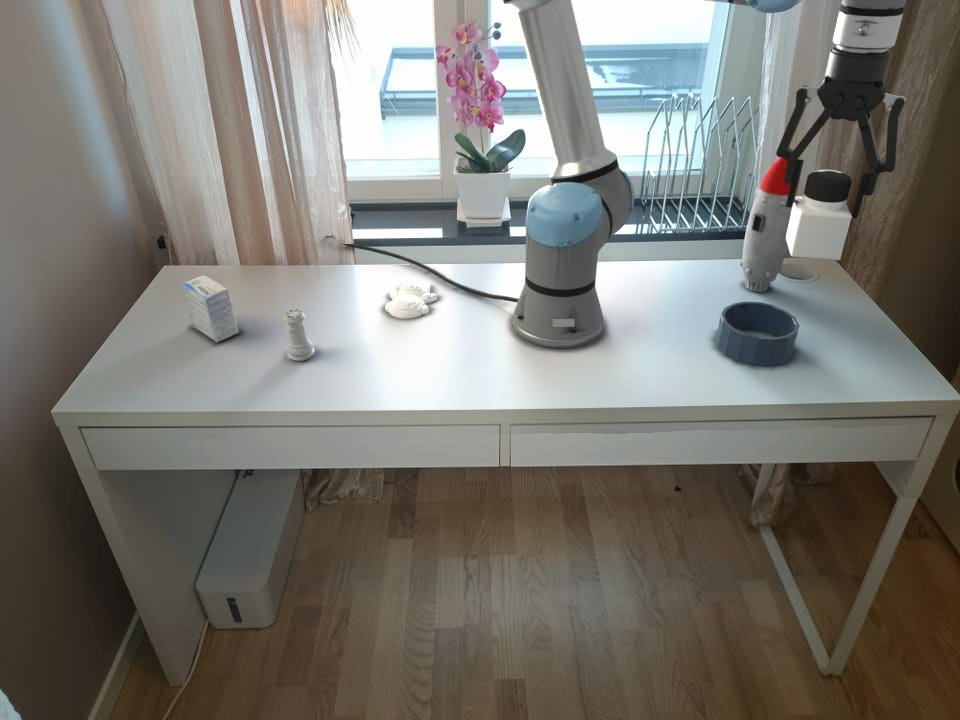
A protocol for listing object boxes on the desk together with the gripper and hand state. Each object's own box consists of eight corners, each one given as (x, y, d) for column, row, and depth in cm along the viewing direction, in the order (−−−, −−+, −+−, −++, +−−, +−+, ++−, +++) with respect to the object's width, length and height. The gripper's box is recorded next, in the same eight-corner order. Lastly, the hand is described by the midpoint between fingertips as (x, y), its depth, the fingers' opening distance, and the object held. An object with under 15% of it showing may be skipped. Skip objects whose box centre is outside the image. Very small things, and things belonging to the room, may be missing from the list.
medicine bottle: (841, 261, 110) (862, 183, 104) (790, 257, 112) (808, 180, 105) (833, 241, 116) (852, 167, 110) (785, 238, 118) (801, 164, 111)
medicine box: (239, 333, 126) (229, 288, 121) (216, 344, 123) (205, 298, 119) (215, 317, 131) (204, 273, 126) (192, 327, 128) (180, 282, 123)
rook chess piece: (291, 365, 118) (283, 322, 113) (283, 351, 121) (276, 309, 117) (318, 357, 120) (311, 314, 115) (310, 344, 123) (303, 302, 118)
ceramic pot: (708, 354, 119) (713, 327, 117) (725, 321, 128) (731, 295, 125) (784, 373, 115) (791, 346, 112) (797, 338, 123) (804, 311, 120)
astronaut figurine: (443, 291, 139) (442, 276, 137) (422, 322, 129) (421, 307, 128) (399, 285, 141) (398, 271, 139) (375, 316, 131) (374, 301, 130)
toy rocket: (724, 285, 139) (750, 154, 125) (752, 273, 143) (780, 144, 129) (759, 301, 134) (790, 166, 120) (786, 288, 138) (819, 156, 124)
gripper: (773, 46, 100) (743, 205, 112) (952, 59, 91) (898, 231, 103) (784, 36, 105) (755, 190, 118) (954, 48, 96) (903, 213, 109)
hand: (822, 209), depth 111 cm, fingers closed on medicine bottle, 8 cm apart
